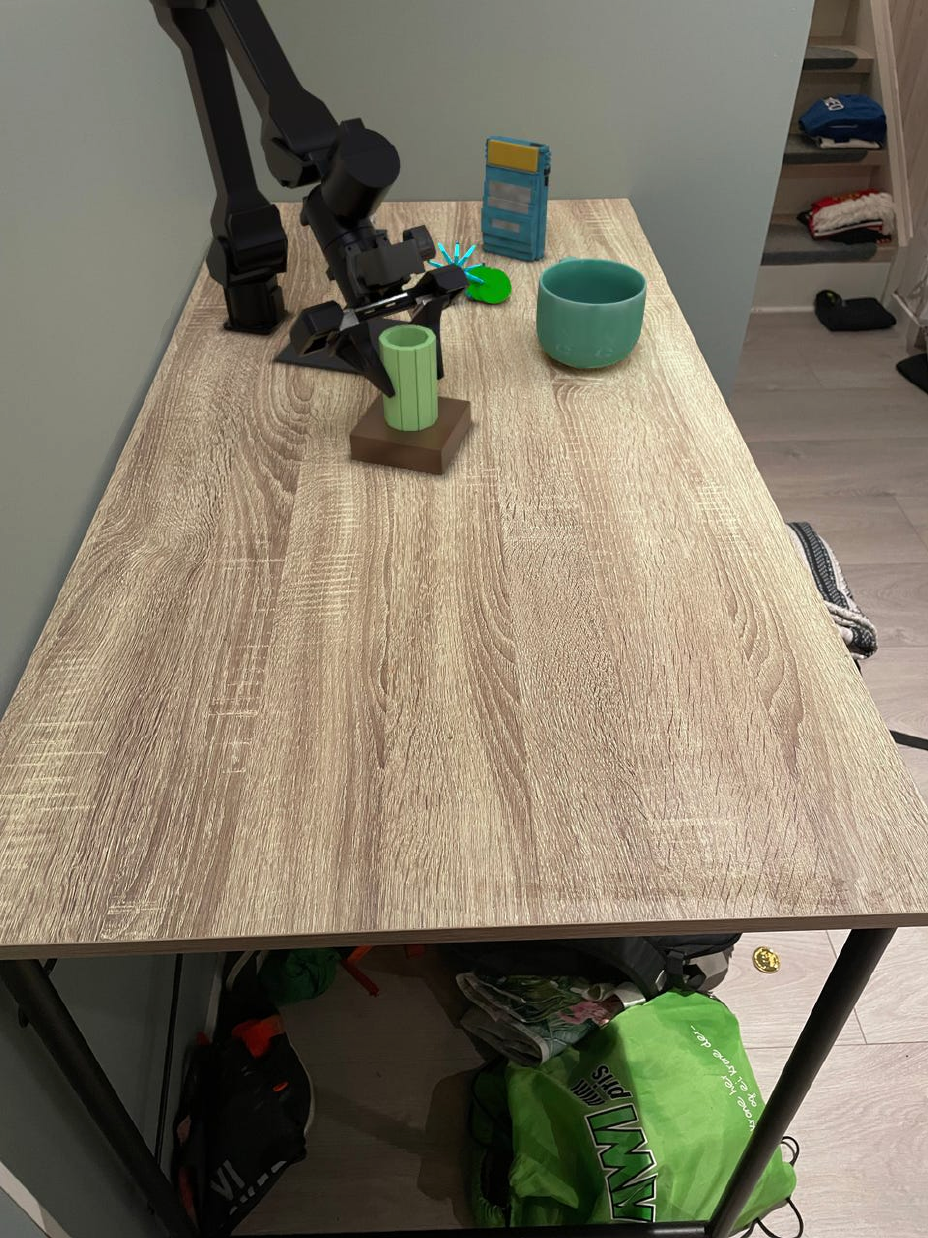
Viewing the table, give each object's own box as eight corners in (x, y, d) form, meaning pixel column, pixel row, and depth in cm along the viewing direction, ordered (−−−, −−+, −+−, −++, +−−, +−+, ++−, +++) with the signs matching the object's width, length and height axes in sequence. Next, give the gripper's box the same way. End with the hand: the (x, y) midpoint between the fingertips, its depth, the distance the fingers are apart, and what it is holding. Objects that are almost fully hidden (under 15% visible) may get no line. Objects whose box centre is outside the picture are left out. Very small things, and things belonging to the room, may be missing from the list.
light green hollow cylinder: (377, 426, 94) (371, 345, 88) (396, 400, 98) (391, 320, 92) (426, 435, 93) (423, 353, 87) (444, 407, 97) (442, 327, 91)
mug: (649, 377, 107) (661, 300, 101) (544, 385, 106) (549, 306, 100) (615, 315, 119) (623, 242, 113) (520, 321, 118) (523, 248, 112)
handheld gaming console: (548, 255, 134) (554, 144, 123) (534, 265, 131) (539, 153, 121) (491, 242, 137) (492, 133, 127) (476, 251, 135) (477, 141, 125)
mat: (275, 361, 111) (274, 358, 111) (321, 312, 120) (321, 309, 120) (382, 377, 108) (382, 374, 107) (422, 326, 117) (421, 323, 117)
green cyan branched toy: (415, 287, 121) (436, 228, 119) (420, 296, 127) (439, 241, 126) (500, 320, 121) (522, 262, 120) (500, 328, 128) (520, 273, 126)
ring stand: (351, 459, 95) (344, 399, 90) (385, 411, 102) (381, 353, 97) (442, 475, 93) (440, 414, 88) (470, 425, 100) (470, 366, 95)
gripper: (286, 222, 80) (364, 387, 81) (458, 178, 88) (526, 329, 89) (258, 281, 90) (328, 427, 91) (415, 237, 98) (477, 371, 99)
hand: (417, 387), depth 92 cm, fingers closed on light green hollow cylinder, 5 cm apart
